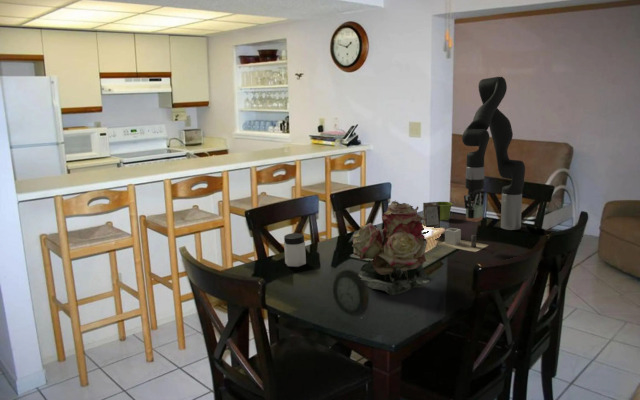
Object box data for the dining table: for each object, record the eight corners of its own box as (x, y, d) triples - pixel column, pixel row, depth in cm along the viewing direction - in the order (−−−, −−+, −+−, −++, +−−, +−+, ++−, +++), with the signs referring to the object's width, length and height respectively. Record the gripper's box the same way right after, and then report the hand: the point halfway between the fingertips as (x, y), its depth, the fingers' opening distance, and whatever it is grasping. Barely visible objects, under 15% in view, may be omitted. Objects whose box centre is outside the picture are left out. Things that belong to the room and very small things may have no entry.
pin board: (451, 240, 238) (451, 227, 237) (488, 247, 226) (489, 233, 225) (437, 247, 230) (437, 233, 229) (475, 254, 218) (475, 240, 216)
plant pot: (441, 216, 282) (441, 200, 280) (455, 219, 275) (456, 203, 273) (430, 219, 276) (430, 203, 275) (444, 222, 269) (445, 206, 267)
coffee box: (440, 240, 240) (440, 205, 237) (426, 240, 240) (426, 206, 237) (436, 234, 249) (436, 201, 245) (422, 235, 249) (422, 202, 246)
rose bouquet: (345, 277, 199) (342, 200, 193) (411, 264, 209) (411, 191, 203) (376, 301, 176) (374, 214, 170) (449, 286, 186) (450, 204, 180)
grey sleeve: (450, 240, 235) (450, 227, 233) (460, 242, 231) (460, 229, 230) (444, 243, 231) (444, 230, 230) (455, 245, 228) (455, 231, 226)
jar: (283, 261, 220) (281, 234, 217) (302, 259, 222) (300, 231, 220) (288, 268, 212) (286, 239, 209) (307, 265, 214) (306, 237, 211)
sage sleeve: (471, 217, 225) (471, 204, 224) (482, 219, 222) (482, 205, 221) (465, 220, 222) (466, 206, 221) (476, 221, 218) (477, 207, 217)
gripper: (475, 174, 226) (474, 212, 229) (458, 179, 216) (457, 219, 219) (491, 175, 220) (490, 214, 224) (474, 180, 210) (474, 221, 214)
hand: (474, 216), depth 222 cm, fingers closed on sage sleeve, 5 cm apart
